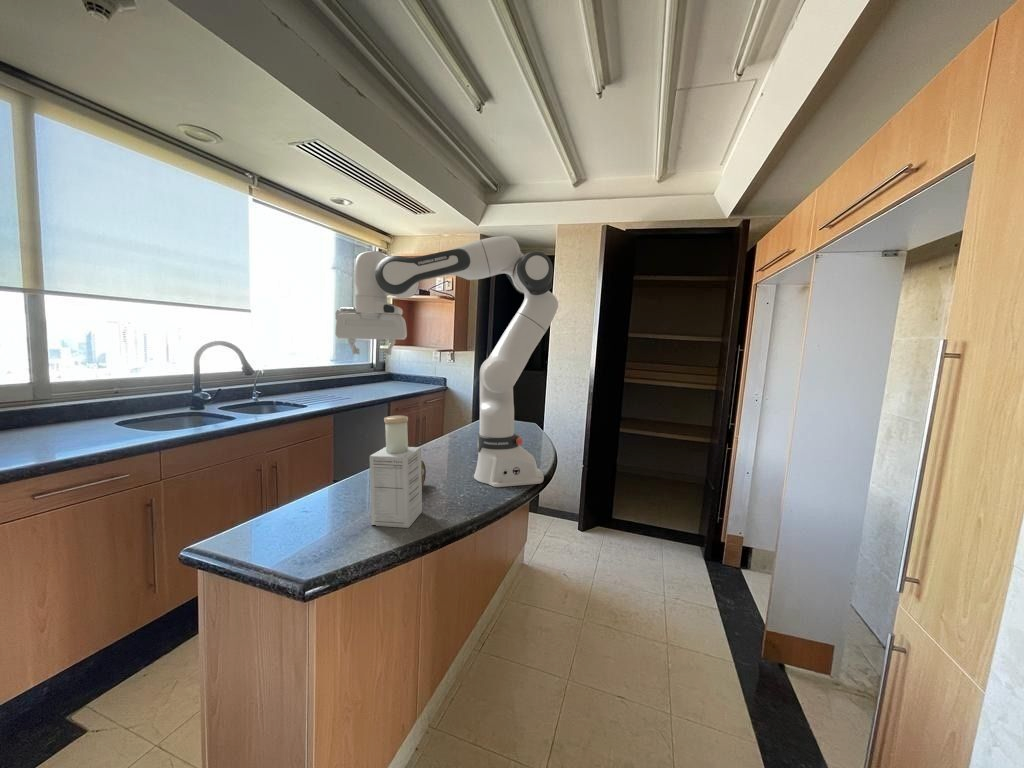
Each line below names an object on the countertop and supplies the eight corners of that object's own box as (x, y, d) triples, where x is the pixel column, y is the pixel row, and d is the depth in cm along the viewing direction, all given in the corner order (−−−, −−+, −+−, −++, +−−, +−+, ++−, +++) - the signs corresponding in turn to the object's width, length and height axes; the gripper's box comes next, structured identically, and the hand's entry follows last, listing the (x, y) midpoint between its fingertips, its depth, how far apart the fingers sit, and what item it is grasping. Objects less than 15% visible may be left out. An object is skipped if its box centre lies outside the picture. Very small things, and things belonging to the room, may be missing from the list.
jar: (410, 447, 93) (410, 415, 92) (406, 453, 88) (405, 419, 87) (388, 447, 93) (387, 415, 92) (382, 454, 88) (381, 420, 87)
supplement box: (423, 511, 96) (423, 446, 94) (409, 528, 87) (408, 457, 85) (387, 509, 97) (386, 445, 96) (369, 525, 88) (368, 455, 86)
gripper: (331, 305, 109) (332, 354, 110) (403, 307, 110) (404, 355, 112) (339, 308, 115) (340, 353, 116) (407, 309, 117) (408, 354, 118)
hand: (372, 354), depth 114 cm, fingers open, 8 cm apart
